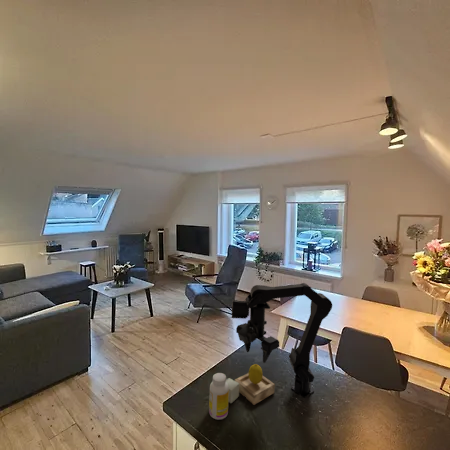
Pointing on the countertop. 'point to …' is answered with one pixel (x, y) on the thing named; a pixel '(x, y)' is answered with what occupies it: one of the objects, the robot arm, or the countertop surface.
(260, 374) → the lemon
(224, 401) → the supplement bottle
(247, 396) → the square tray
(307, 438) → the countertop surface
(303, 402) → the countertop surface
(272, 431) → the countertop surface
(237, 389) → the ceramic cube
